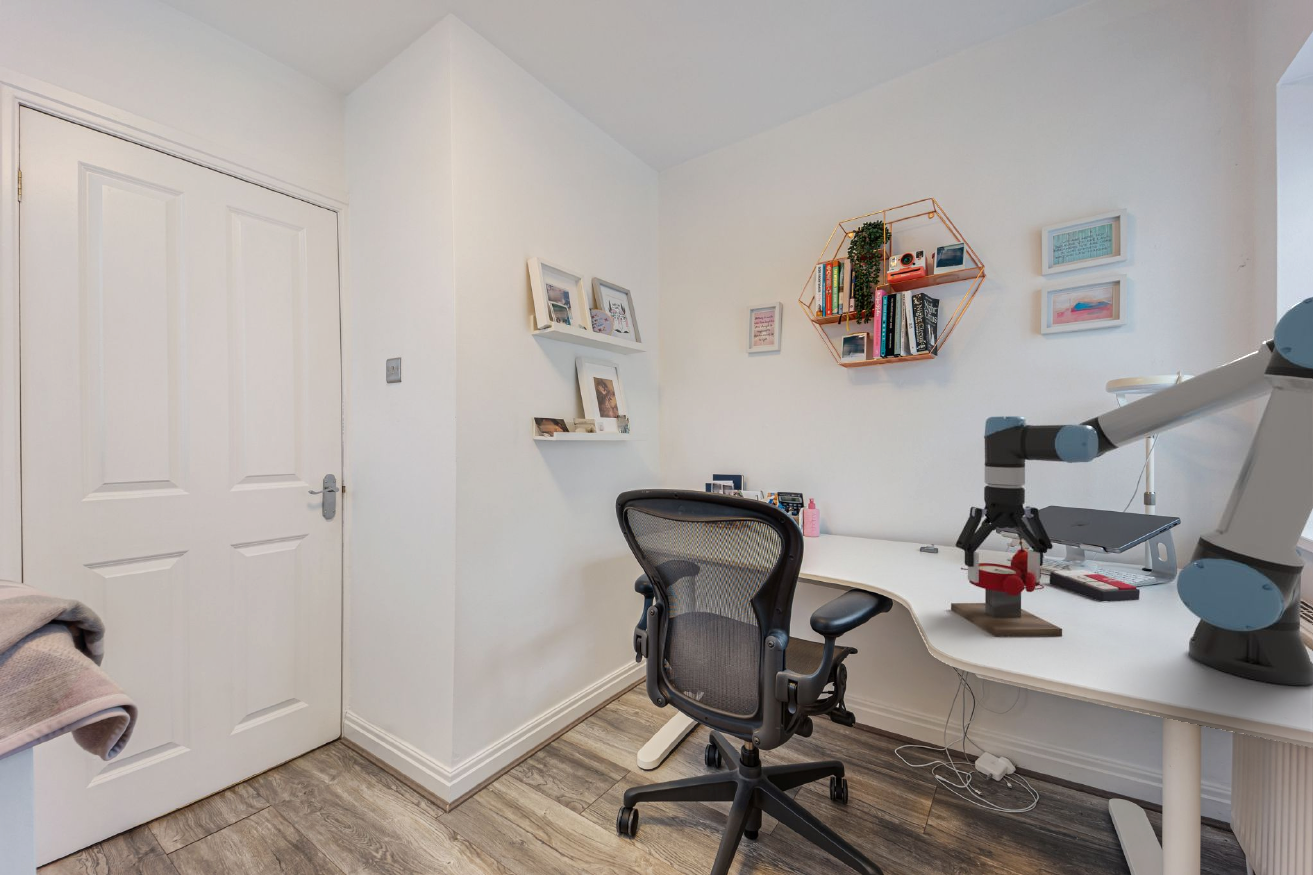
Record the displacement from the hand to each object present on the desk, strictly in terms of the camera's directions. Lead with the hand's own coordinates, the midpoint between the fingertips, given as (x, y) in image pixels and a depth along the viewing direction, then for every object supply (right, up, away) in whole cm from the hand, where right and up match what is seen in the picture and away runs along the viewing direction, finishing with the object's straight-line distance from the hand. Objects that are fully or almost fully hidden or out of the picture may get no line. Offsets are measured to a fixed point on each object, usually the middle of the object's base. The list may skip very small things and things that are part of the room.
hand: (1003, 580), depth 116 cm
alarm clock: (0, -2, 0) cm, 2 cm away
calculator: (+38, -9, +21) cm, 44 cm away
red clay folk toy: (+26, -9, +30) cm, 40 cm away
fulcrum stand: (0, -9, 0) cm, 9 cm away
